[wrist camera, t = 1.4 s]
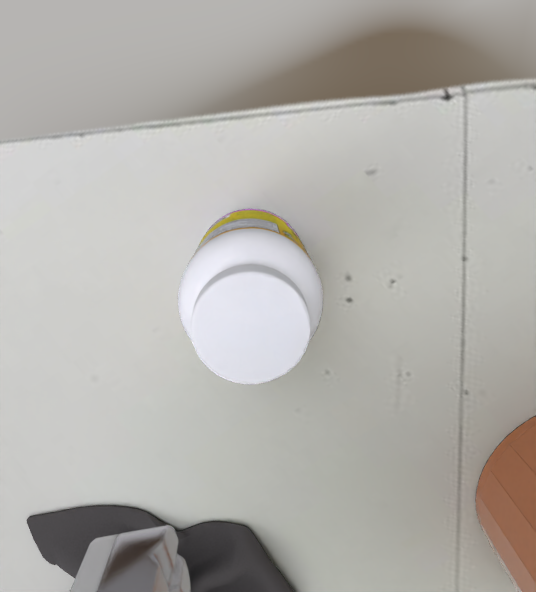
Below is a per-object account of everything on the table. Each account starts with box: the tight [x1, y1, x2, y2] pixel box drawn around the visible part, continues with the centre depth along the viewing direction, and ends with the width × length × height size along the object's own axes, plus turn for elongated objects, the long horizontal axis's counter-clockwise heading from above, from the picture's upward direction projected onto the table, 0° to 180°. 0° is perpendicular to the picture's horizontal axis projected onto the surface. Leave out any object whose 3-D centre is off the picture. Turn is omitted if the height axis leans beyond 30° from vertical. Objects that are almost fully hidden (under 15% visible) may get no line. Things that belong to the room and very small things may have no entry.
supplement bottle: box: [178, 209, 323, 384], centre depth 25 cm, size 7×7×13 cm
